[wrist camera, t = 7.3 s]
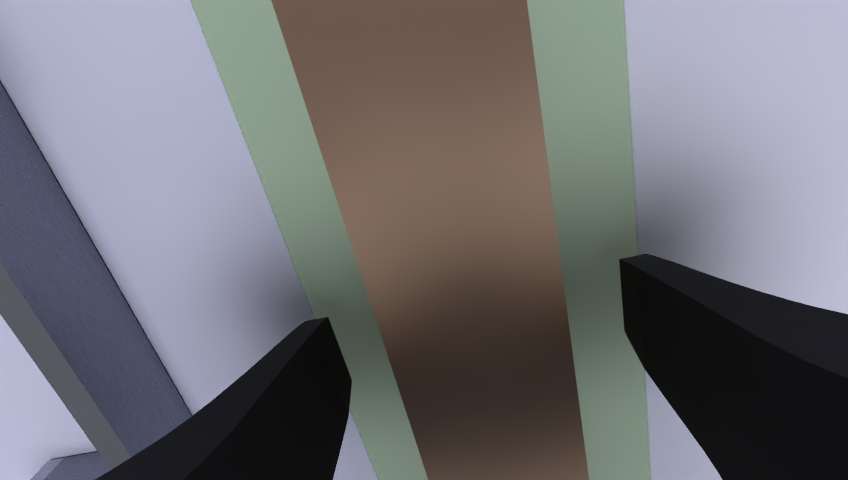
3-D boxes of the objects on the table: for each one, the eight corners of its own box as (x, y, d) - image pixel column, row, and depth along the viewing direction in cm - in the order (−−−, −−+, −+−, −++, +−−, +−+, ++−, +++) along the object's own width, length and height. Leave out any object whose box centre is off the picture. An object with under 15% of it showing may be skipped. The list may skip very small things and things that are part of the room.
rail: (571, 505, 15) (611, 631, 12) (470, 519, 15) (480, 646, 12) (474, -118, 8) (501, -237, 5) (300, -66, 9) (218, -144, 5)
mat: (647, 502, 15) (652, 513, 15) (404, 536, 16) (404, 547, 16) (603, -216, 8) (610, -229, 8) (168, -79, 9) (157, -84, 9)
